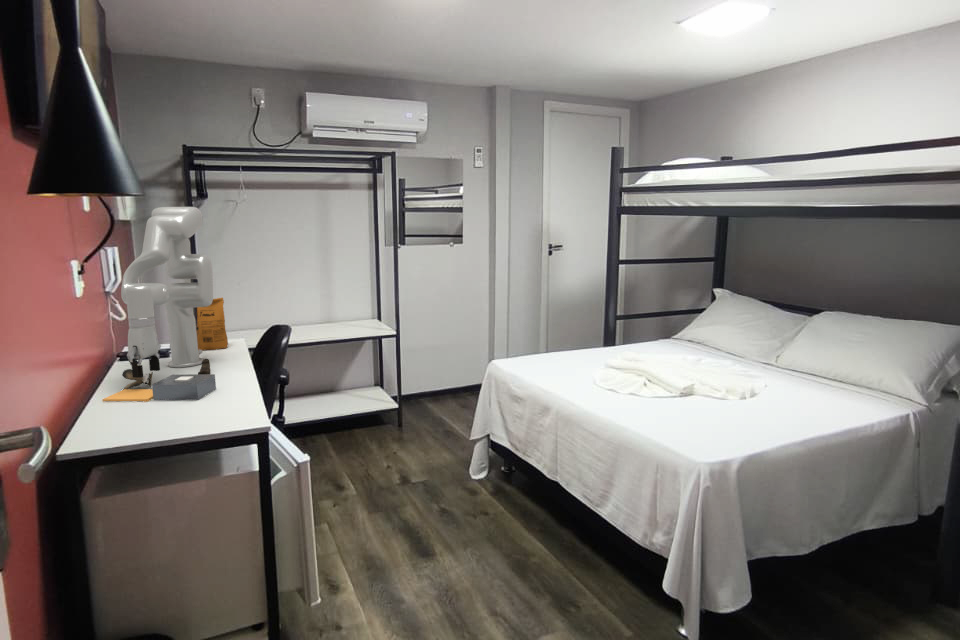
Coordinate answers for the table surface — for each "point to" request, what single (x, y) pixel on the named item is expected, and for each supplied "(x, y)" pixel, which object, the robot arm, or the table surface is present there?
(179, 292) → the robot arm
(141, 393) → the pad
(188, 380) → the button
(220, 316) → the coffee package
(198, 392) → the breaker box
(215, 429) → the table surface
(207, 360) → the hand tool
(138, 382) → the eagle figurine
